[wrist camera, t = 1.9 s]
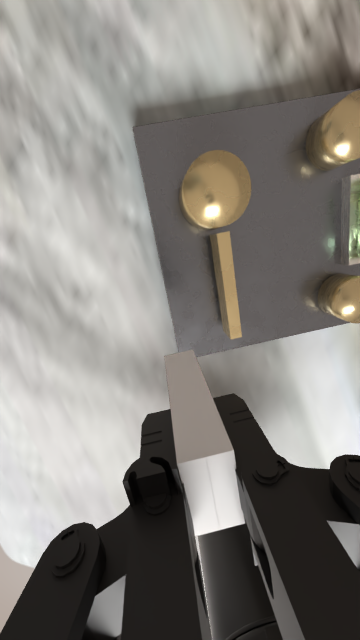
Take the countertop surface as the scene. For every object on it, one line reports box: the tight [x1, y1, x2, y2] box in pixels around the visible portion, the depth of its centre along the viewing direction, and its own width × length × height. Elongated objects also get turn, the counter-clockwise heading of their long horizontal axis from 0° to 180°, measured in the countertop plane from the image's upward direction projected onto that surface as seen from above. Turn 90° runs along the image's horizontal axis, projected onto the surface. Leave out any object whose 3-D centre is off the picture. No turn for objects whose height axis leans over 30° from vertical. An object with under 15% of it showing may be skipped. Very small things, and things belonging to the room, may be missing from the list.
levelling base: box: [133, 89, 360, 357], centre depth 26 cm, size 24×24×6 cm
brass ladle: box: [179, 150, 251, 339], centre depth 24 cm, size 17×6×4 cm, turn 10°
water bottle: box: [198, 517, 283, 640], centre depth 27 cm, size 10×10×23 cm
